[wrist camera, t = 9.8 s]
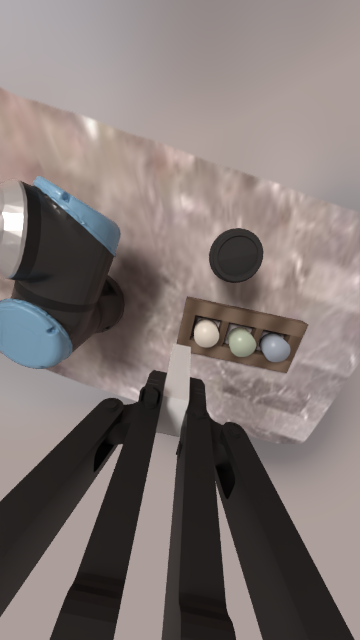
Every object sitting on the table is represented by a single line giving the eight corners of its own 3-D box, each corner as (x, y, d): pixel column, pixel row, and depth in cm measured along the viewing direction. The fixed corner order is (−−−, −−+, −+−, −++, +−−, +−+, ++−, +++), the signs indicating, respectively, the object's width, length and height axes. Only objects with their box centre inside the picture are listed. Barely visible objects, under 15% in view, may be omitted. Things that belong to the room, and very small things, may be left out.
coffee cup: (245, 269, 46) (268, 279, 32) (208, 276, 47) (214, 289, 33) (241, 229, 44) (264, 220, 29) (202, 237, 45) (206, 233, 31)
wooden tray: (176, 344, 54) (175, 349, 51) (187, 296, 49) (186, 298, 47) (282, 367, 54) (286, 372, 51) (302, 321, 49) (308, 324, 47)
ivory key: (191, 337, 51) (191, 344, 47) (196, 316, 49) (197, 322, 45) (214, 342, 51) (215, 349, 47) (219, 321, 49) (222, 327, 45)
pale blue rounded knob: (256, 351, 51) (261, 359, 47) (263, 330, 49) (269, 337, 45) (278, 355, 51) (284, 364, 47) (286, 335, 49) (294, 342, 45)
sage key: (224, 346, 50) (227, 354, 46) (231, 325, 48) (234, 331, 44) (247, 350, 50) (251, 359, 46) (254, 330, 48) (259, 337, 44)
